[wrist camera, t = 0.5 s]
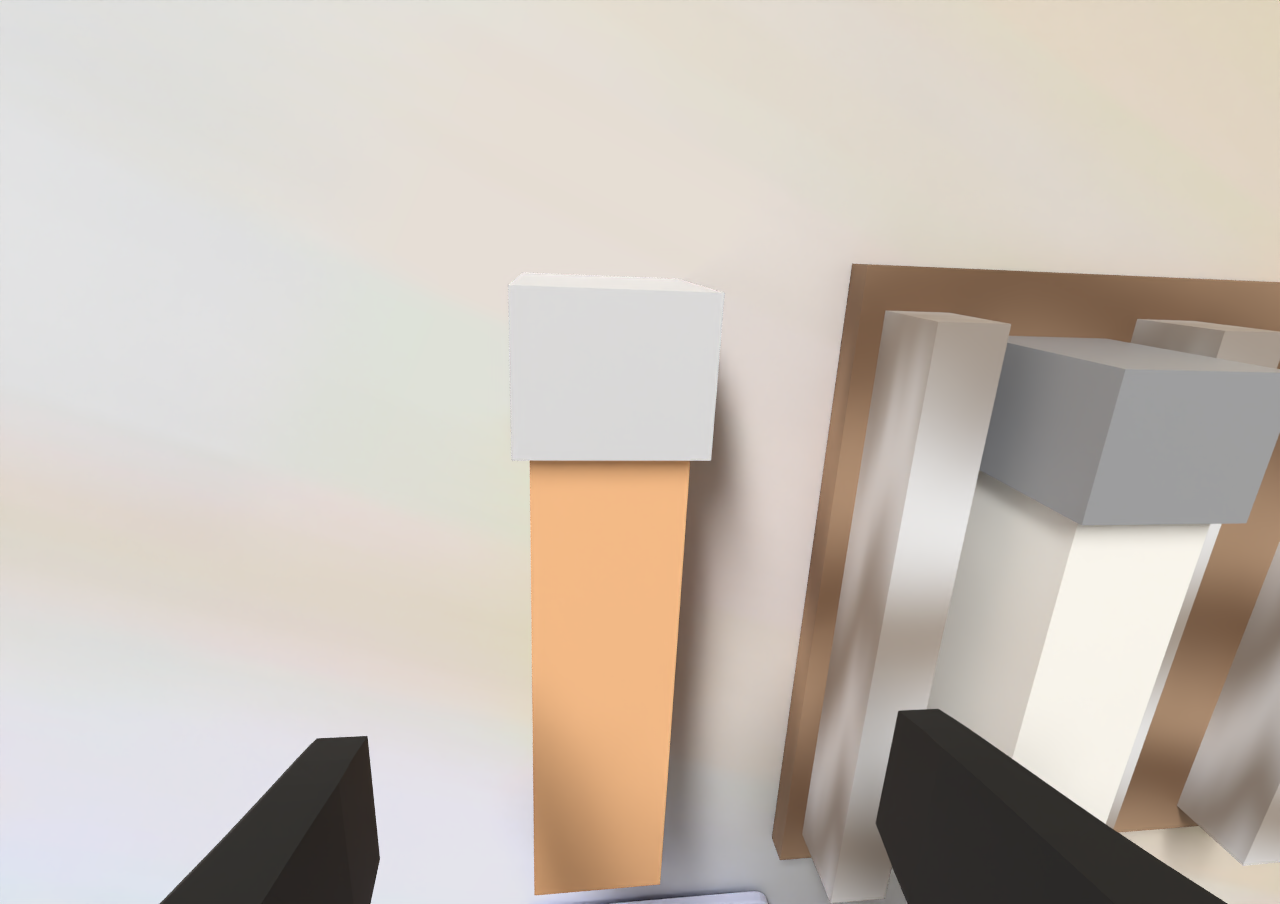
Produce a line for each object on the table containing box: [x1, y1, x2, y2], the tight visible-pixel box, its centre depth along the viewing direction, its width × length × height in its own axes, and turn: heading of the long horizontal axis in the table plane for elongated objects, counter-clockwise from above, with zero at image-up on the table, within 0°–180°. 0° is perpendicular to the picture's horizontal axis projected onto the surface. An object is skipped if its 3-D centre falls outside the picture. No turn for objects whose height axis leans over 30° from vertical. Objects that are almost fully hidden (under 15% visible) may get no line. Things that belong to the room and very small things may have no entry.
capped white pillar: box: [927, 336, 1280, 824], centre depth 16 cm, size 14×4×4 cm, turn 178°
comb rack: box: [772, 264, 1280, 904], centre depth 18 cm, size 18×16×3 cm
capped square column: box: [508, 273, 725, 895], centre depth 15 cm, size 14×4×4 cm, turn 178°
